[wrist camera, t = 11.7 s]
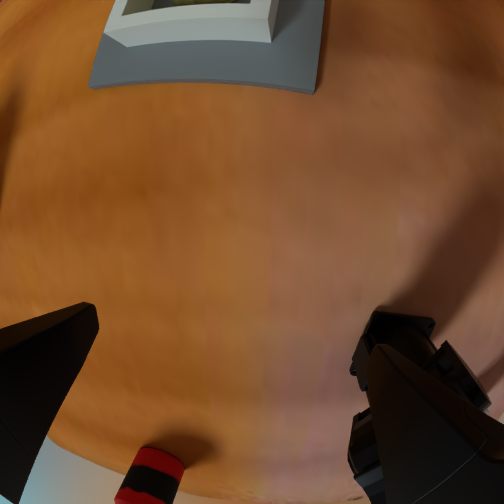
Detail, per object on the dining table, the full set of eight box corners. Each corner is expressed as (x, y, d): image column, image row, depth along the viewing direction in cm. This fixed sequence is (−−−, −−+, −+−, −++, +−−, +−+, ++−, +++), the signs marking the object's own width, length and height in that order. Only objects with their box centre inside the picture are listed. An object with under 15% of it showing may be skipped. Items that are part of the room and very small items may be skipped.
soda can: (141, 461, 33) (116, 513, 21) (136, 440, 30) (105, 500, 19) (185, 475, 32) (165, 532, 21) (185, 457, 30) (161, 523, 18)
